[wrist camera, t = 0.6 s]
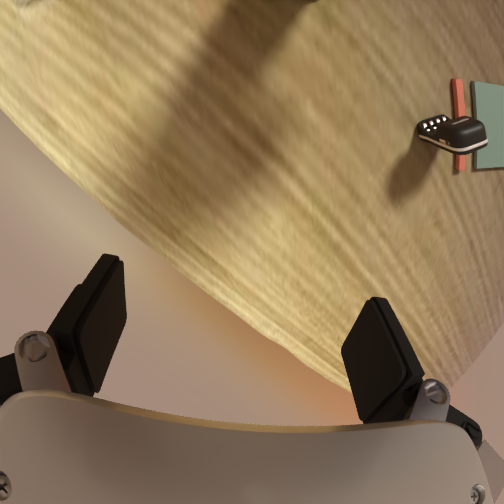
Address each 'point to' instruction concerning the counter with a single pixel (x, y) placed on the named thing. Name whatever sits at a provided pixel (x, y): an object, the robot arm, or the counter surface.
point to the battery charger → (454, 133)
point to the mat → (489, 123)
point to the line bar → (459, 115)
